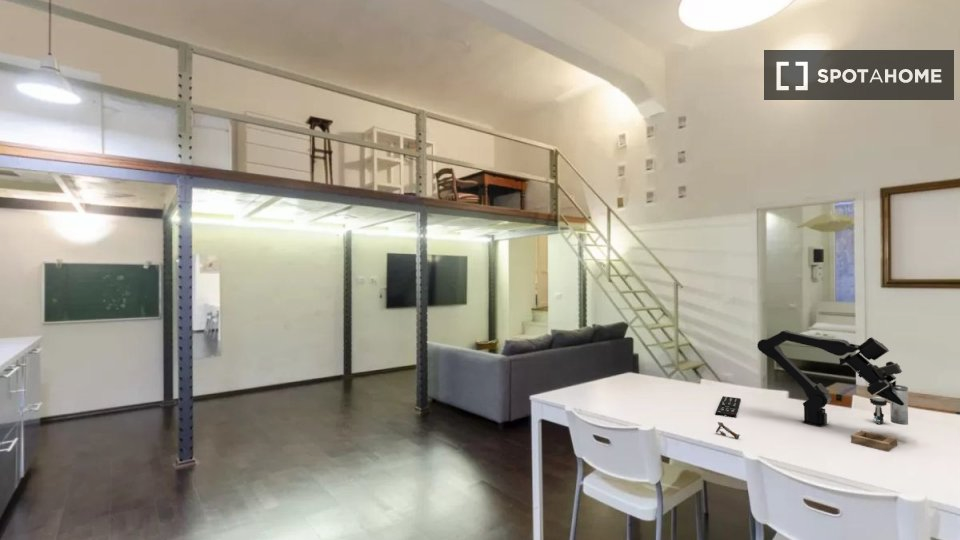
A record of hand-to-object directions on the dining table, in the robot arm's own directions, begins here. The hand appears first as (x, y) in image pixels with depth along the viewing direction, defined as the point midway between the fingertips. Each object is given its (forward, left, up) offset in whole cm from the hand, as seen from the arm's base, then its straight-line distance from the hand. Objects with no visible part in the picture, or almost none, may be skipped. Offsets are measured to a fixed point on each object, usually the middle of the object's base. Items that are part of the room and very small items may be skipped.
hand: (904, 403), depth 160 cm
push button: (-12, +19, -14) cm, 26 cm away
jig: (-5, -12, -13) cm, 19 cm away
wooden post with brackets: (-38, -47, -14) cm, 62 cm away
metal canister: (-1, 0, -7) cm, 7 cm away
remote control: (-57, -9, -14) cm, 60 cm away
